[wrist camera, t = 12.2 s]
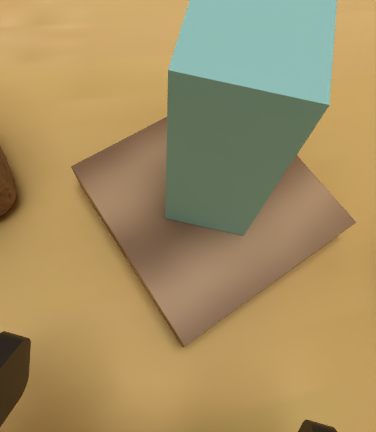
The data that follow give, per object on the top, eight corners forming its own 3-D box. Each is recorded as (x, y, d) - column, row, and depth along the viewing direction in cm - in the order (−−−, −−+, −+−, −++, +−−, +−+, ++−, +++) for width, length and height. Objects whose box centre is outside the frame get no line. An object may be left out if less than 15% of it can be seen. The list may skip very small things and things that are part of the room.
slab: (82, 189, 24) (71, 166, 21) (226, 111, 27) (232, 82, 24) (182, 347, 20) (184, 346, 18) (333, 238, 23) (356, 222, 21)
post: (165, 218, 20) (168, 69, 10) (182, 151, 22) (200, -34, 11) (243, 235, 20) (329, 105, 10) (254, 167, 22) (337, -5, 11)
